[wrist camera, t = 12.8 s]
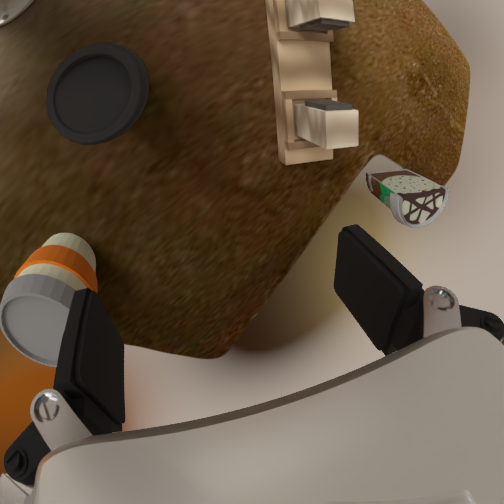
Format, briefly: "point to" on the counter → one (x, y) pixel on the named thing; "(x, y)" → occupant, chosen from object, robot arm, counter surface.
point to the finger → (327, 123)
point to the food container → (408, 195)
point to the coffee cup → (97, 93)
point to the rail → (302, 65)
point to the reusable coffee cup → (46, 296)
